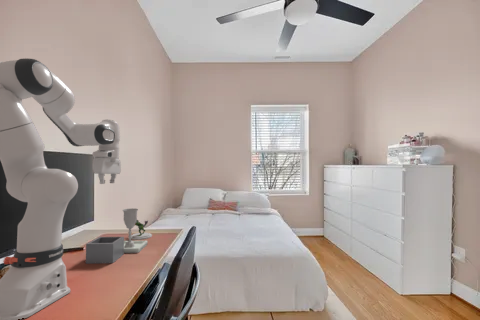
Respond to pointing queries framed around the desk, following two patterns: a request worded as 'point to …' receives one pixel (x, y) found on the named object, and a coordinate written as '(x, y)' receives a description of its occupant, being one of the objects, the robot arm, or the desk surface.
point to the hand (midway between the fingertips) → (107, 183)
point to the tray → (138, 247)
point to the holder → (104, 250)
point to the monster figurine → (140, 235)
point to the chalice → (130, 224)
